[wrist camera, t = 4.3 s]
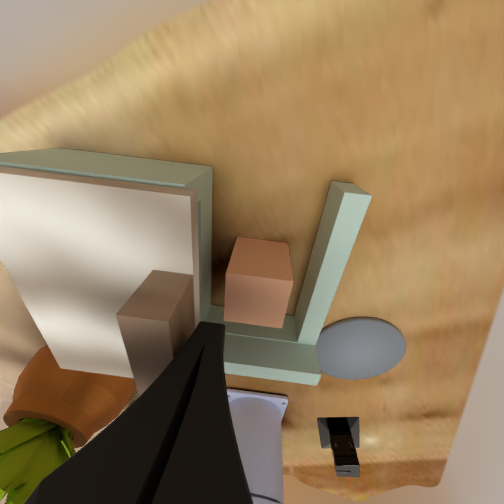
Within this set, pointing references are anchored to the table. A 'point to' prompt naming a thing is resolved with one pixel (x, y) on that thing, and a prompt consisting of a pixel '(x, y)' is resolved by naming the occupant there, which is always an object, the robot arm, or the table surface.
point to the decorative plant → (53, 420)
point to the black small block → (341, 443)
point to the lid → (103, 268)
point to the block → (258, 283)
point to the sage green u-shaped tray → (201, 179)
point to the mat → (359, 348)
